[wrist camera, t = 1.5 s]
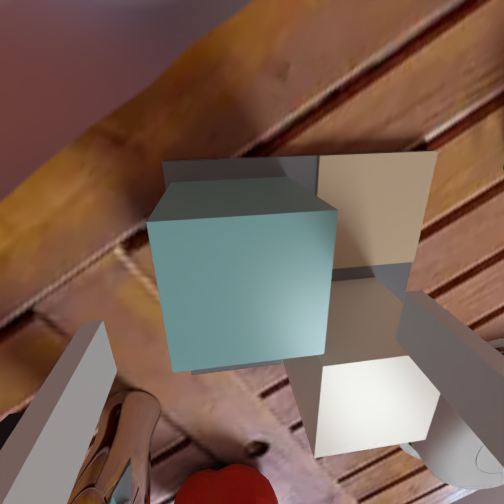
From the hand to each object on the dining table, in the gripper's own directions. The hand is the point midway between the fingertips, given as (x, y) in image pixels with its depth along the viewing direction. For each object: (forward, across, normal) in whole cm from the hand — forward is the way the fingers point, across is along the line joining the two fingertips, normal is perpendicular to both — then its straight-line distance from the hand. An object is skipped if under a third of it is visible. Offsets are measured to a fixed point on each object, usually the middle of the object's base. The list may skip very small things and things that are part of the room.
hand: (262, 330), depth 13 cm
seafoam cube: (+13, 0, 0) cm, 13 cm away
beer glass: (+14, -12, -20) cm, 27 cm away
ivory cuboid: (+13, +9, -10) cm, 19 cm away
